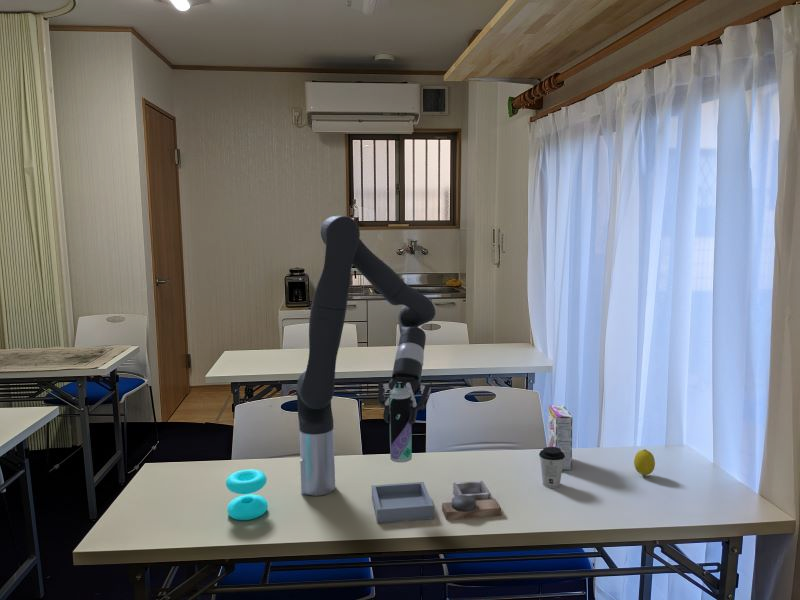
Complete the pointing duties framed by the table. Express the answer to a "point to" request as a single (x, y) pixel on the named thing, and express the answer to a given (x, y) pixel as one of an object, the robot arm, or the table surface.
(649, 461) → the lemon
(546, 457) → the coffee cup
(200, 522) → the table surface
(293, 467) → the table surface
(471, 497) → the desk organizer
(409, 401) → the spray can
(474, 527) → the table surface
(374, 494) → the tray
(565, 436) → the candy bar box
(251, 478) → the donuts
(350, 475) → the table surface
